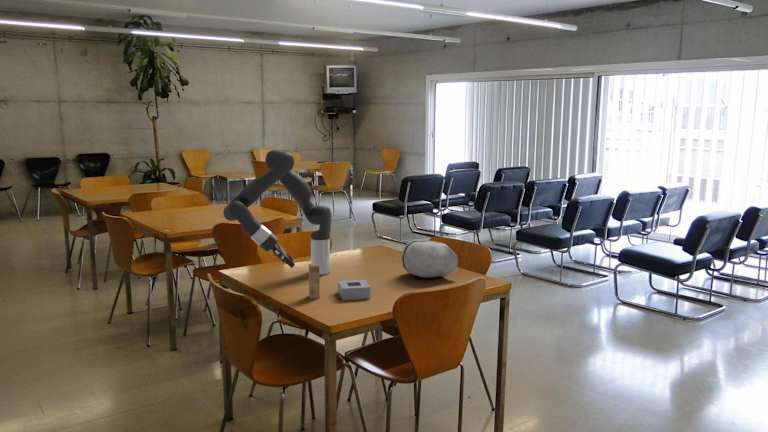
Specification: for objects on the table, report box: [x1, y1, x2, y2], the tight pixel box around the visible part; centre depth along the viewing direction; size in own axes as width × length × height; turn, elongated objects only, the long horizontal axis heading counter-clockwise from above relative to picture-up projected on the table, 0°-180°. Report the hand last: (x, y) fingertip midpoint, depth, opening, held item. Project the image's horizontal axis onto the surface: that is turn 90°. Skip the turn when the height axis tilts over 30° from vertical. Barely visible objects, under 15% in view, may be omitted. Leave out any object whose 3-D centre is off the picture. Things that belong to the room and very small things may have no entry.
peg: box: [308, 263, 321, 299], centre depth 258 cm, size 4×4×14 cm
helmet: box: [401, 239, 459, 279], centre depth 295 cm, size 18×25×30 cm
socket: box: [337, 279, 371, 301], centre depth 262 cm, size 12×12×5 cm
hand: (292, 263), depth 255 cm, fingers open, 8 cm apart
